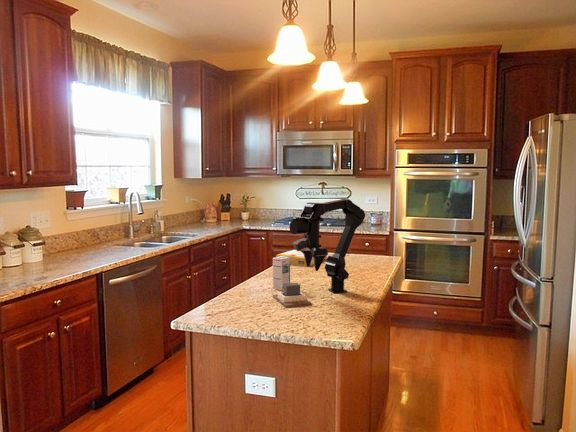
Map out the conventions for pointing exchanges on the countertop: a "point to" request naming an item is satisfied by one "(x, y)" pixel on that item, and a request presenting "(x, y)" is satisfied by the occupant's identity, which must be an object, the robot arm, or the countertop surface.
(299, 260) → the cereal box
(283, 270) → the syrup box
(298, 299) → the socket board
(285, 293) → the plug block
